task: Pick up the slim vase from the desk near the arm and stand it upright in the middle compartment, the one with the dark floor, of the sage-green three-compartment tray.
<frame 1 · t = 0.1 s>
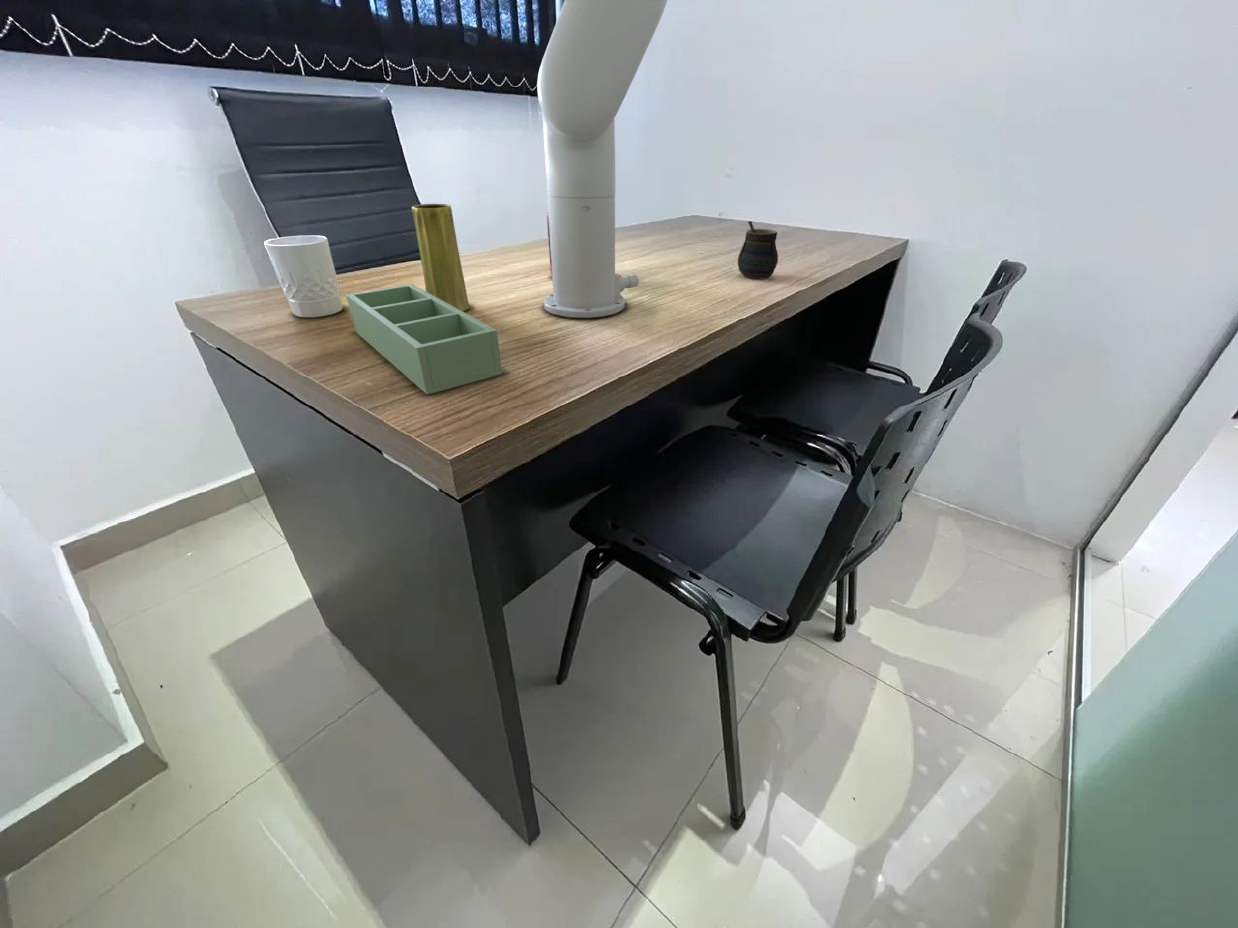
mate gourd: (755, 278, 97), on the table
vase: (449, 310, 79), on the table
white cup: (319, 312, 77), on the table
compartment tray: (423, 351, 64), on the table
canned food: (571, 276, 97), on the table
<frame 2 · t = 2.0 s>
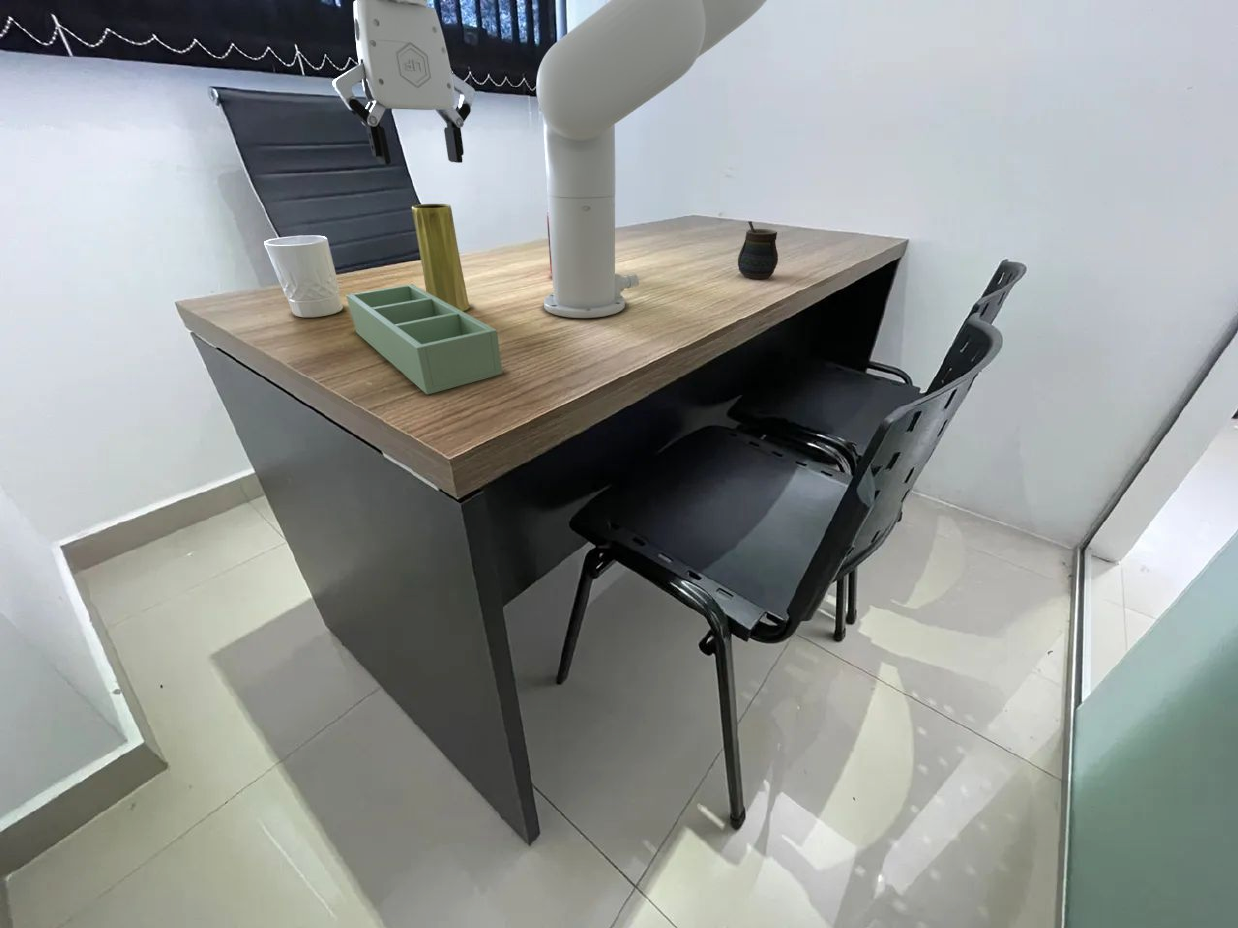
hand: (421, 163, 68), 19 cm above the table, tool pointing down, fingers open, 9 cm apart
nothing on the table moved.
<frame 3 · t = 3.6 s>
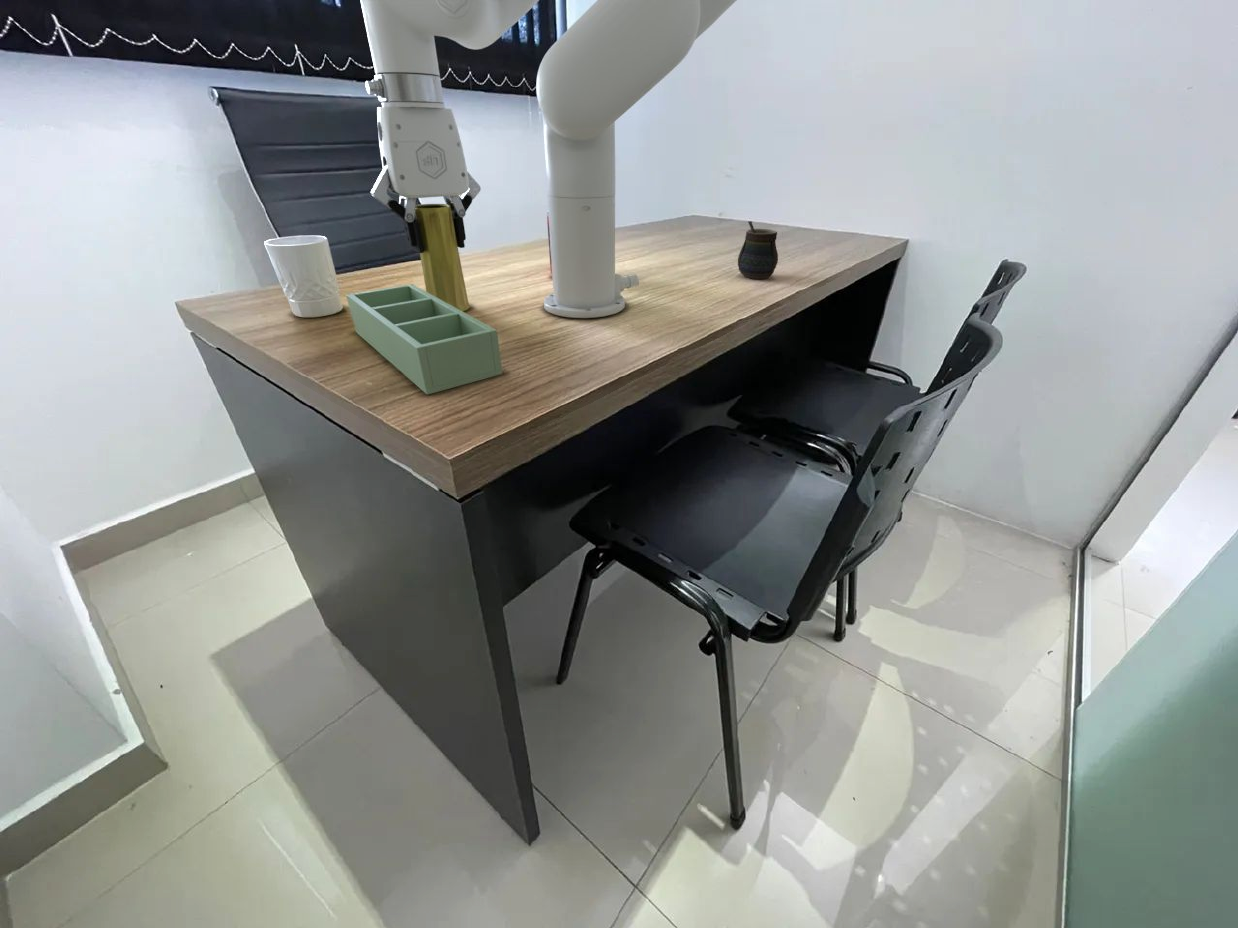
hand: (438, 247, 74), 9 cm above the table, tool pointing down, fingers closed on vase, 5 cm apart
vase: (449, 310, 79), on the table, touching gripper
everything else where it was.
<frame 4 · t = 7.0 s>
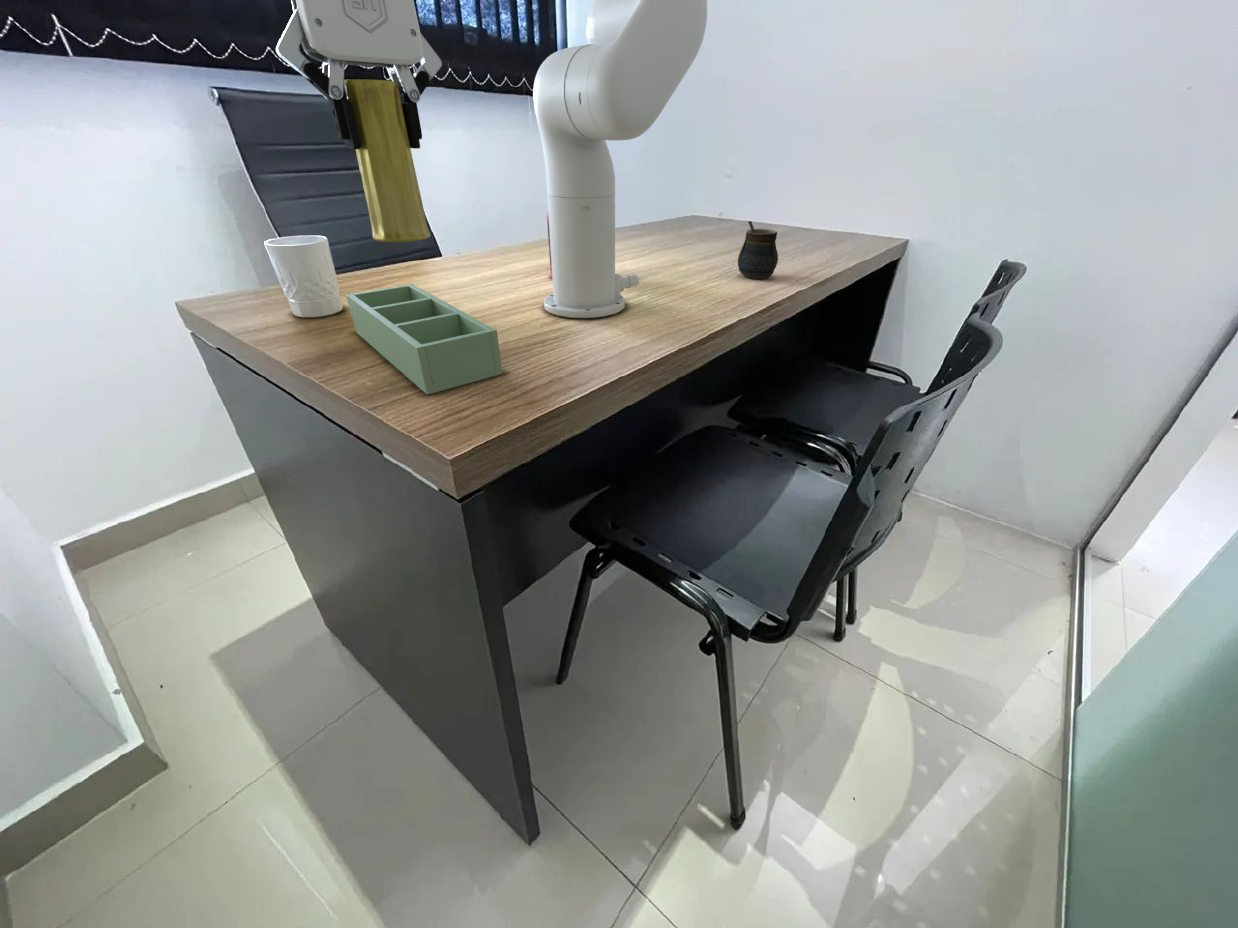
hand: (383, 146, 53), 22 cm above the table, tool pointing down, fingers closed on vase, 5 cm apart
vase: (402, 239, 58), point 13 cm above the table, touching gripper
everything else where it was.
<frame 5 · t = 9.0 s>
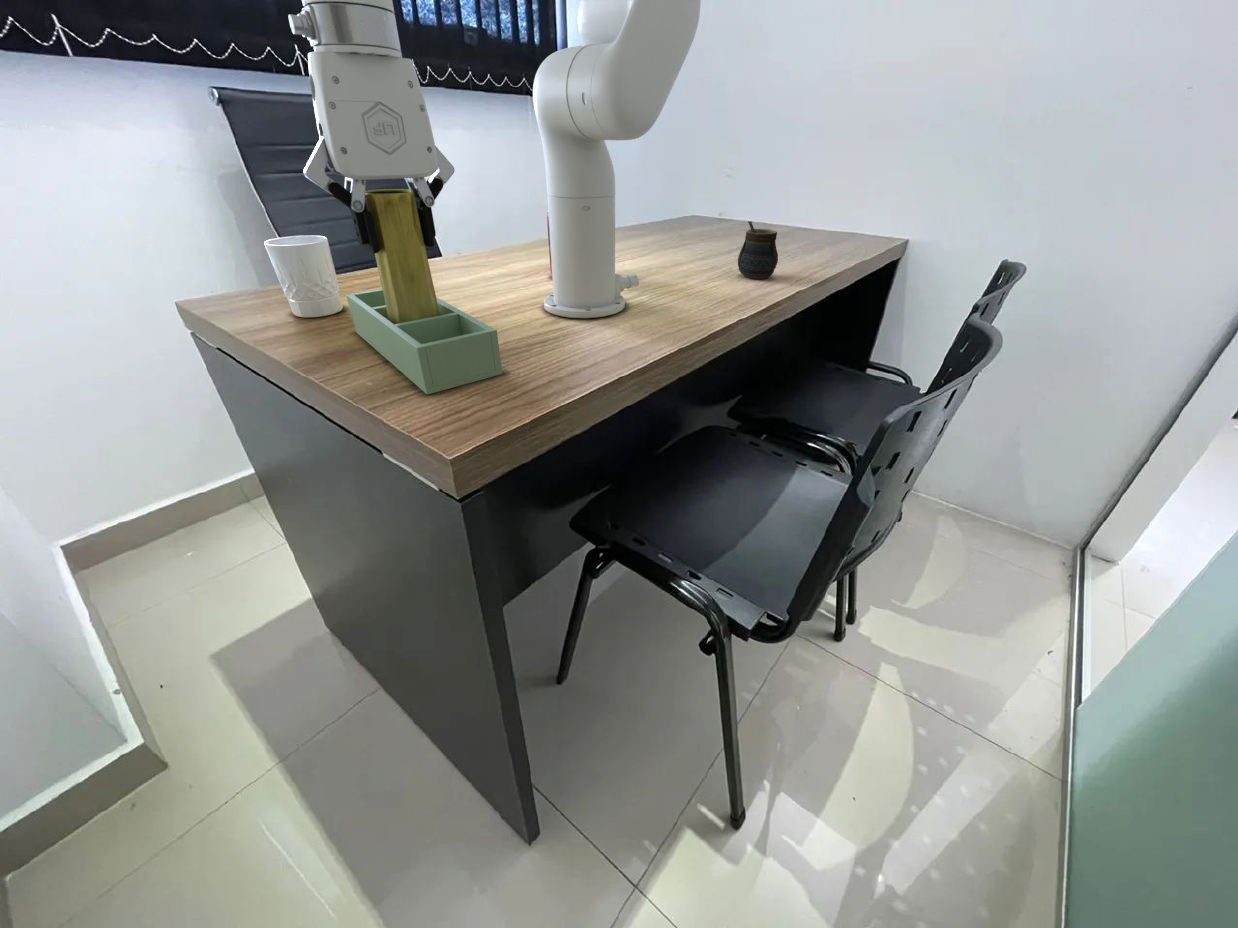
hand: (399, 246, 57), 12 cm above the table, tool pointing down, fingers closed on vase, 5 cm apart
vase: (416, 326, 62), point 3 cm above the table, touching gripper
everything else where it was.
when the fingers open (10 cm above the table, at t = 10.2 s): vase stays where it is, resting on compartment tray.
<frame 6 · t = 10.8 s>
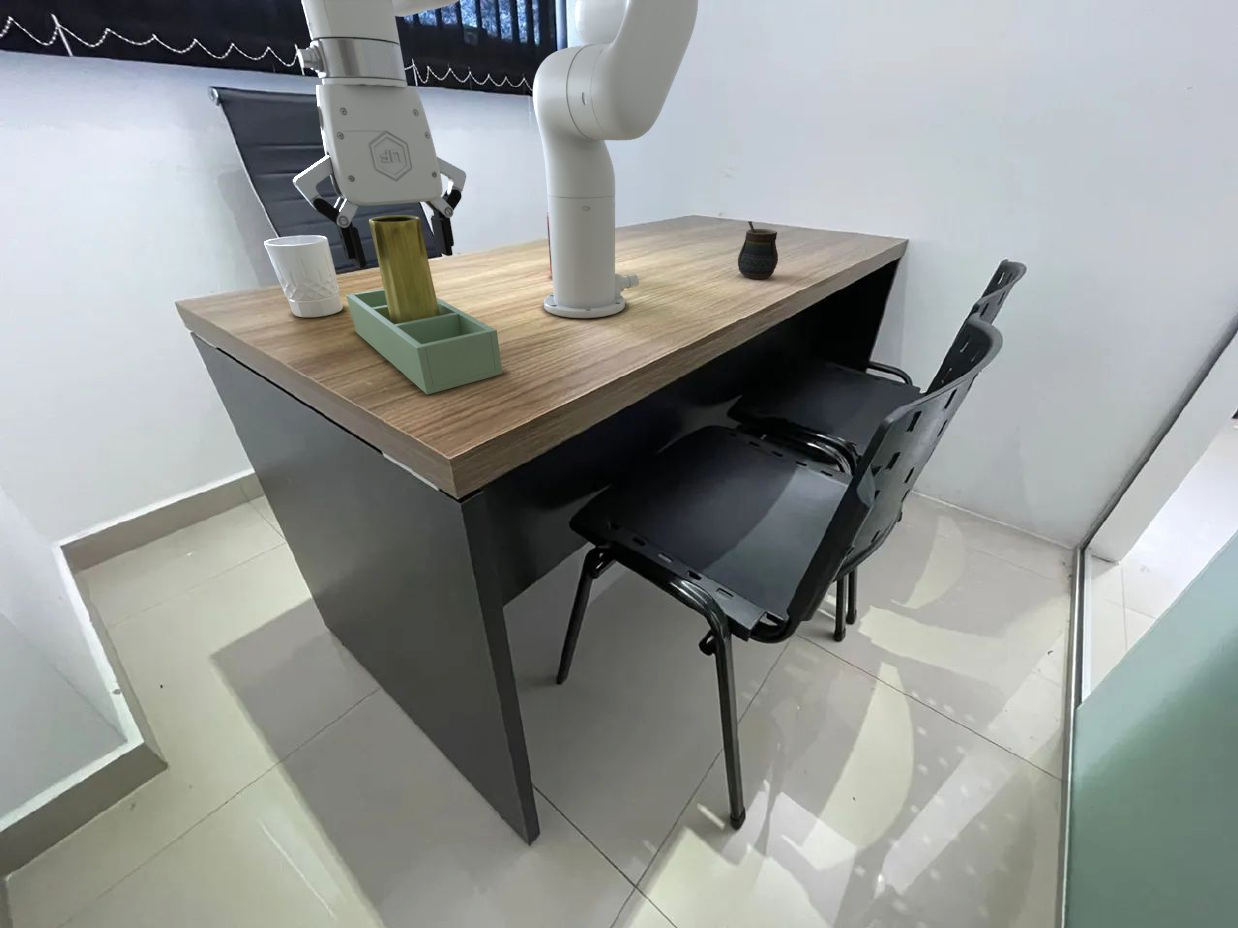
hand: (404, 259, 58), 11 cm above the table, tool pointing down, fingers open, 9 cm apart
vase: (421, 346, 63), point 1 cm above the table, touching compartment tray
everything else where it was.
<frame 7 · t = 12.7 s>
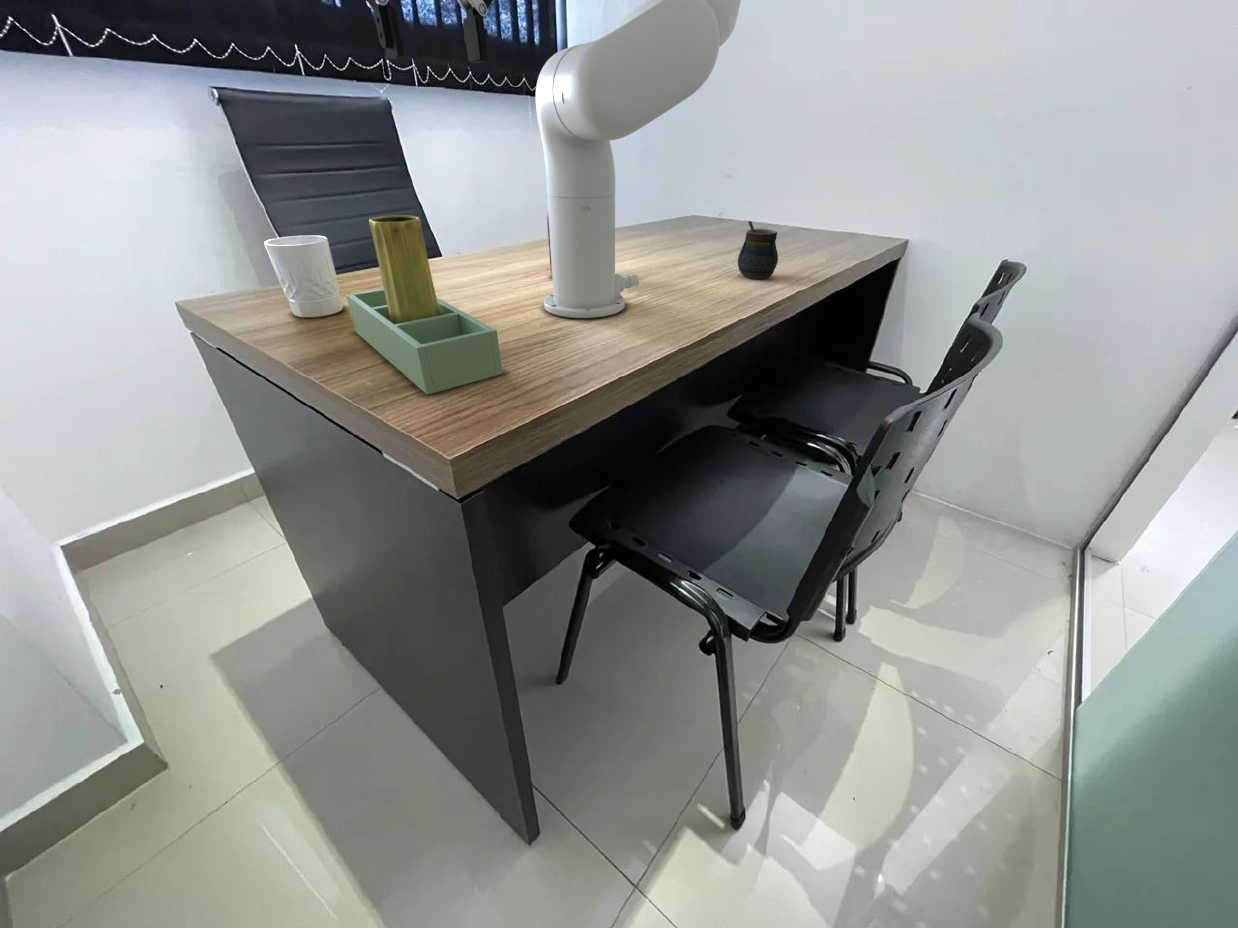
hand: (438, 60, 57), 30 cm above the table, tool pointing down, fingers open, 9 cm apart
nothing on the table moved.
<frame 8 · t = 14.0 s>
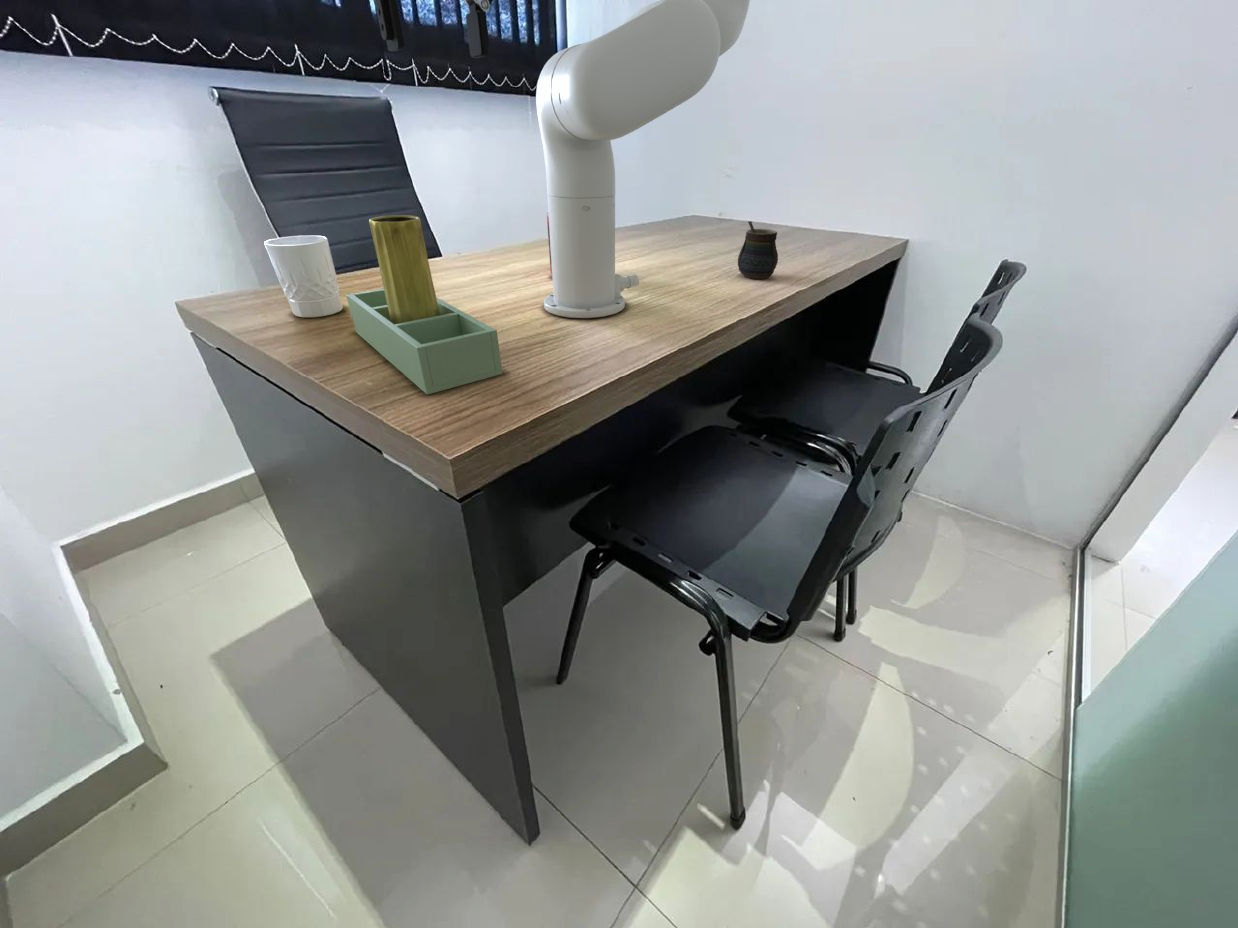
hand: (439, 54, 57), 30 cm above the table, tool pointing down, fingers open, 9 cm apart
nothing on the table moved.
at the end: vase 0.0 cm off-centre in the compartment tray, point 0.6 cm above the compartment tray's base; vase tilted 0°; the gripper is holding nothing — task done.
